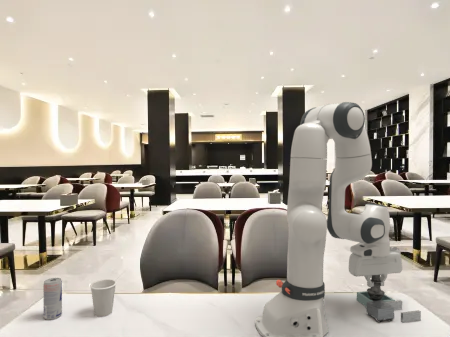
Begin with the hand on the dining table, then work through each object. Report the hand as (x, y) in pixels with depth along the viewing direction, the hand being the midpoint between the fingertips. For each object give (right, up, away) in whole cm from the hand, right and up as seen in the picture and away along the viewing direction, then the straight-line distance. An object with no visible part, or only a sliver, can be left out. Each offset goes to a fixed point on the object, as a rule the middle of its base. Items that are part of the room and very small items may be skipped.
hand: (375, 286), depth 114 cm
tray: (0, -7, 0) cm, 7 cm away
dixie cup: (-96, -7, -7) cm, 97 cm away
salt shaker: (0, -6, 0) cm, 6 cm away
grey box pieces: (+1, -7, -9) cm, 11 cm away
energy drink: (-112, -7, -10) cm, 113 cm away
